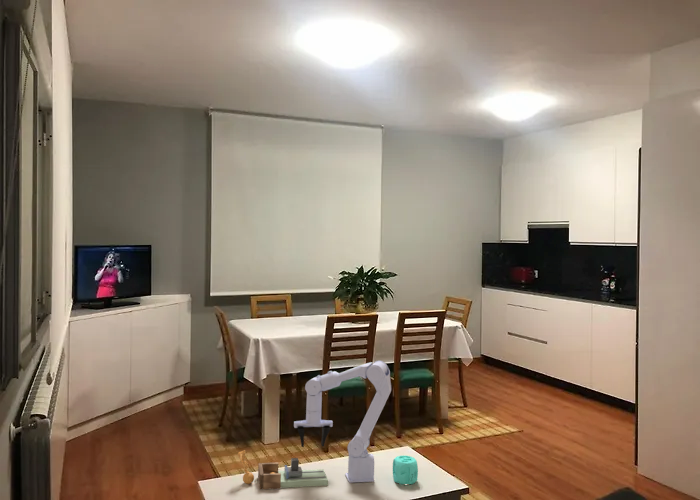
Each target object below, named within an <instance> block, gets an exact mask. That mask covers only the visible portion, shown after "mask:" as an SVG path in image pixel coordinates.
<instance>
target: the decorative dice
mask: <svg viewBox="0 0 700 500" xmlns="http://www.w3.org/2000/svg"><path fill="white" fill-rule="evenodd" d="M392 461H393V462H392V477H393V481H394V482H395V483H397V484H398V483H399V485H402V484H411V485H413V484H415V483H417V481H418V477H419V476H418V475H419V473H418V472H419V468H418V461H417V459H416V458H415V457H413V456H410V455H398V456H395V457H394V458H393V460H392Z"/></svg>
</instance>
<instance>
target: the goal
mask: <svg viewBox="0 0 700 500" xmlns="http://www.w3.org/2000/svg"><path fill="white" fill-rule="evenodd" d="M257 470H258V474H257V478H258V487H259V490H260V491H261V490H280V489H281V488H280V487H281V473H278V471H279V462H277V461H276V462H258V469H257ZM272 472H274V473H272ZM270 473H272V474H270Z"/></svg>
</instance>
